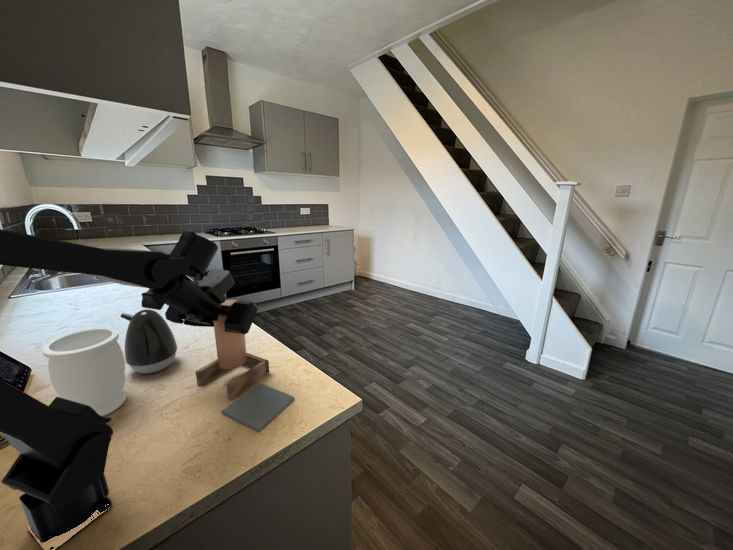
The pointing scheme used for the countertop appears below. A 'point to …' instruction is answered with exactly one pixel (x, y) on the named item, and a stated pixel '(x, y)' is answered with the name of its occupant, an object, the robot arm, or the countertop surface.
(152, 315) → the pump dispenser
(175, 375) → the countertop surface
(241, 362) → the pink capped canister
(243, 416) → the mat
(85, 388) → the jar
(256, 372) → the frame
